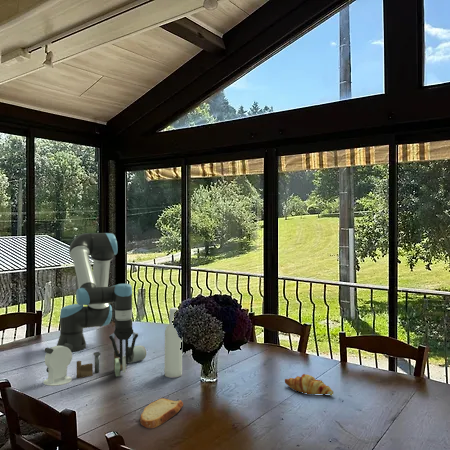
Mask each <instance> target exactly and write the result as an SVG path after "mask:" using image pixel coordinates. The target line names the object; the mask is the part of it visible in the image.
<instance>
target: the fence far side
mask: <svg viewBox="0 0 450 450" xmlns="http://www.w3.org/2000/svg"><path fill="white" fill-rule="evenodd" d="M93 365H94V364H93V363H86V364H82V361H81V360H77V361H76V379H81V378H87V377H92V376H94V375H93V374H94V371H93V369H94V366H93Z"/></svg>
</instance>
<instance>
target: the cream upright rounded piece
mask: <svg viewBox="0 0 450 450" xmlns="http://www.w3.org/2000/svg"><path fill="white" fill-rule="evenodd" d="M72 349H73V346H72V345H71V344H67V343H65V344H64V346H57V345H55V346H52V347H50V348H49V347H45V348H44V353H45V356H44V364H45V366H46V368H45V369H46V372H47V374H48V375H47V378H46V379H44V380H43V384H44V385H46V386H49V387H50V386H51V387H58V386H62V385H67V384H69V383H71V382H72V381H73V379H72V377H71V376H68V366H69V365H70V364H71V363H72V360H73V352H71V350H72Z"/></svg>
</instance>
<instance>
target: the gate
mask: <svg viewBox="0 0 450 450" xmlns="http://www.w3.org/2000/svg"><path fill="white" fill-rule="evenodd" d="M114 374H115V377H121V370H120V363H119V358H115V371H114Z"/></svg>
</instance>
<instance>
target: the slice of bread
mask: <svg viewBox="0 0 450 450" xmlns="http://www.w3.org/2000/svg"><path fill="white" fill-rule="evenodd" d="M183 406H184V402H183V401H182V400H181V399H180V400H171V399H168V398H165V397H164V398H163V397H162V398H158V399H157V400H155V401H152V402H150V404H148V405H147V406H145V407H144V409H143V412H141V414H140V418H139V423H140V424H141V426H143V427H145V428H147V429H155V428H158V427H159V426H161V425H163V424H164V423H166V422H167V421H169V420H170V419H171V418H173V417H174V416H175V415H177V414H178V413H179V412H180V410H182V408H183Z"/></svg>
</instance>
